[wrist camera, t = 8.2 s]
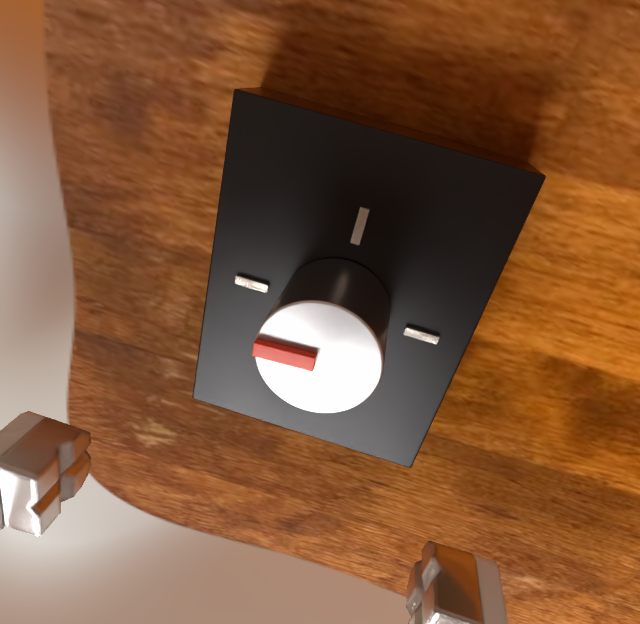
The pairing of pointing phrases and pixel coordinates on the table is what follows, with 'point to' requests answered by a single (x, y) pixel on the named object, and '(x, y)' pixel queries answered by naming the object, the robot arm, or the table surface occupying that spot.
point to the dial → (325, 337)
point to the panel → (356, 255)
